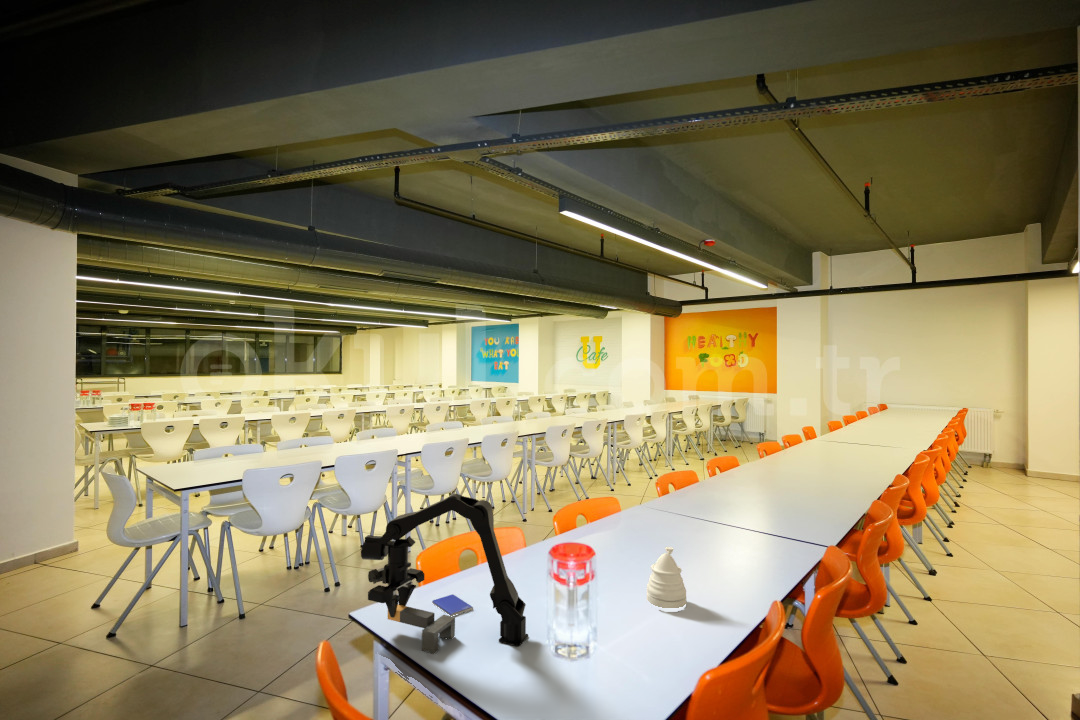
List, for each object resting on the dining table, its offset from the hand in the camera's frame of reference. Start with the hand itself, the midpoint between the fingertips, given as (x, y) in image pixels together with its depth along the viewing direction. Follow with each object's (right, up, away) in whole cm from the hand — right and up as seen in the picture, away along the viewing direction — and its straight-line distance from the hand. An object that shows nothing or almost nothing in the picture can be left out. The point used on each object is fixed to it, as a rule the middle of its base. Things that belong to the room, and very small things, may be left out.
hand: (396, 614), depth 146 cm
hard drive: (+13, -7, +17) cm, 23 cm away
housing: (+14, -5, -6) cm, 16 cm away
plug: (+5, -1, -2) cm, 5 cm away
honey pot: (+84, -7, +20) cm, 87 cm away
